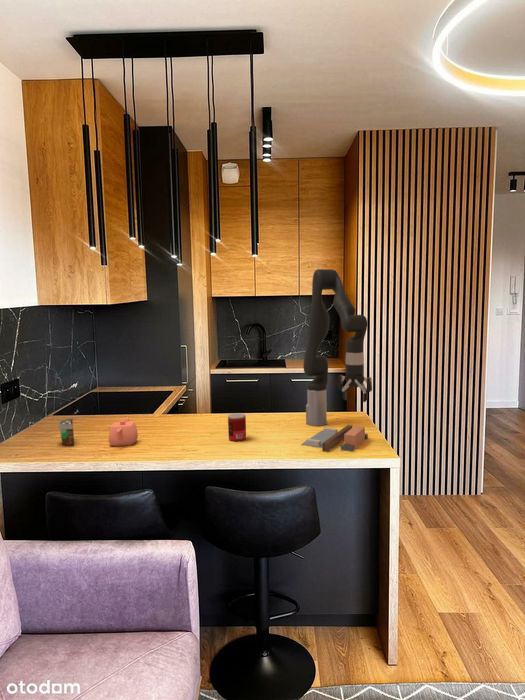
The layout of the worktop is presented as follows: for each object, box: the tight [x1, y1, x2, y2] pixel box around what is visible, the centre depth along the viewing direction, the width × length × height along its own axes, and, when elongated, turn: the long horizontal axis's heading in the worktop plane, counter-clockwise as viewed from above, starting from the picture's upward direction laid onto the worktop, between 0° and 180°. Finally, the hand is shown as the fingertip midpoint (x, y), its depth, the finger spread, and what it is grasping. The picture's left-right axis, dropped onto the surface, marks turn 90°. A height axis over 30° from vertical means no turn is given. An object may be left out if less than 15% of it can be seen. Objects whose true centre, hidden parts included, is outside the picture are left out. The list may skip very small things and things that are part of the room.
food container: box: [57, 417, 75, 447], centre depth 228 cm, size 12×6×10 cm, turn 21°
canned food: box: [227, 412, 247, 443], centre depth 228 cm, size 8×8×11 cm
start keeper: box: [340, 432, 369, 452], centre depth 218 cm, size 5×20×2 cm, turn 150°
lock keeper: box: [300, 427, 338, 449], centre depth 226 cm, size 10×22×2 cm, turn 150°
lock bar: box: [343, 425, 366, 450], centre depth 218 cm, size 4×14×6 cm, turn 152°
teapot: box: [108, 416, 139, 447], centre depth 227 cm, size 12×18×10 cm, turn 1°
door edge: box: [321, 424, 353, 453], centre depth 222 cm, size 2×30×4 cm, turn 151°
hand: (354, 400), depth 216 cm, fingers open, 8 cm apart
